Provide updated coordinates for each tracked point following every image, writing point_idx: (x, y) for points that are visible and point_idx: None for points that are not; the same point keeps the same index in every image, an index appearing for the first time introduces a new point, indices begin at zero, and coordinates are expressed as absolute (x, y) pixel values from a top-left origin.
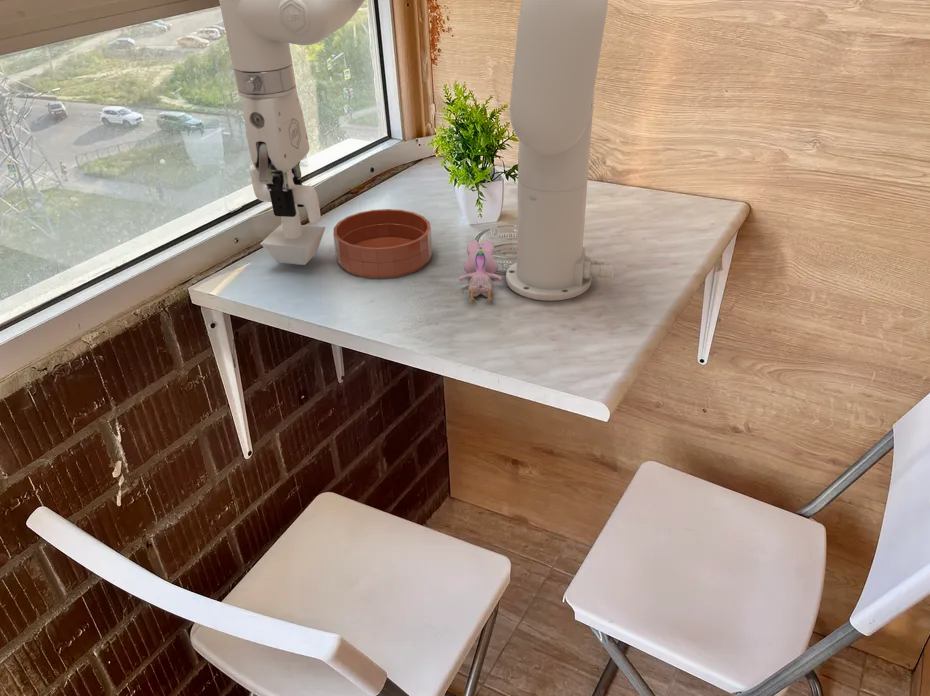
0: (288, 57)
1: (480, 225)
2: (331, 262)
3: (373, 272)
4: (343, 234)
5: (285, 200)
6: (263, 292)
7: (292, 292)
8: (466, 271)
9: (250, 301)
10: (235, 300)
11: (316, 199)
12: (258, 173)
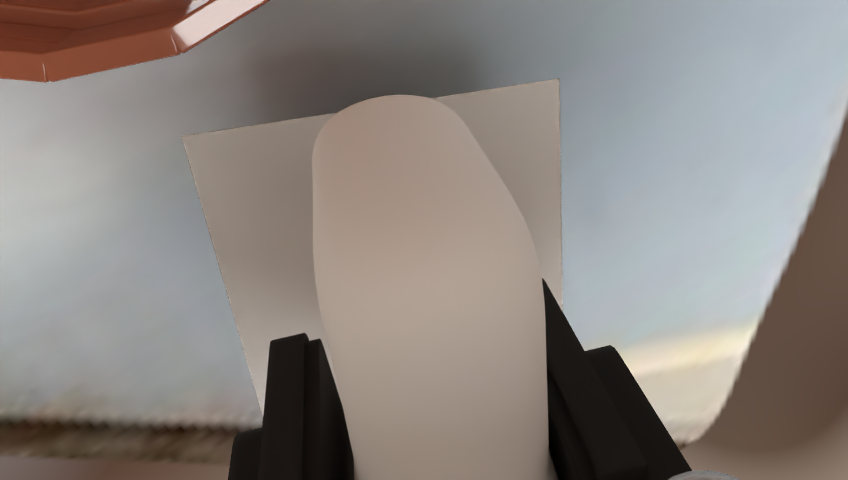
0: None
1: None
2: (287, 14)
3: None
4: (69, 29)
5: (648, 418)
6: (709, 165)
7: (689, 27)
8: None
9: (798, 168)
10: (793, 232)
11: (415, 174)
12: None
